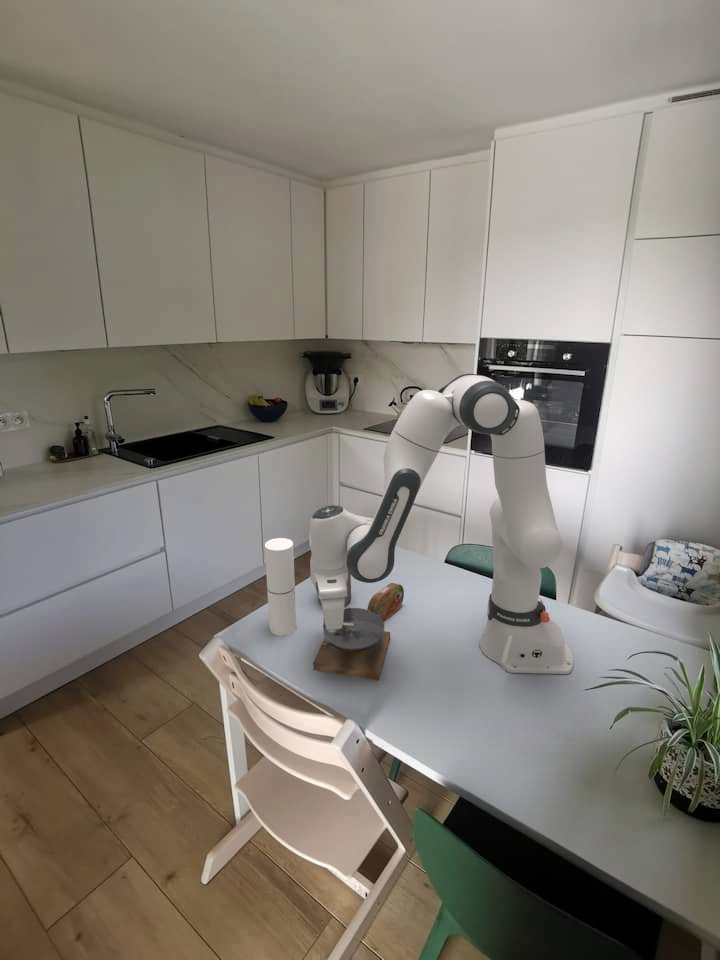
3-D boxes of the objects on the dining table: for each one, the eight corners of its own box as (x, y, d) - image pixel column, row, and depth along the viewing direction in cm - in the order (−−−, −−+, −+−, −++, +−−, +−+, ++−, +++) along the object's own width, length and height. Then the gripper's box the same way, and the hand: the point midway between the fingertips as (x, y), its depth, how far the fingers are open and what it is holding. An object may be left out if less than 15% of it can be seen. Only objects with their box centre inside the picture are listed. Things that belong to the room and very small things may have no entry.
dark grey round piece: (385, 616, 129) (386, 596, 127) (382, 654, 115) (382, 632, 113) (328, 612, 130) (328, 592, 128) (318, 649, 116) (317, 627, 114)
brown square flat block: (390, 638, 130) (390, 619, 128) (379, 680, 116) (379, 659, 114) (331, 629, 134) (331, 610, 132) (313, 669, 119) (312, 648, 117)
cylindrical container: (264, 631, 133) (259, 547, 124) (278, 617, 139) (274, 536, 131) (287, 638, 130) (284, 552, 122) (301, 623, 136) (298, 540, 128)
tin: (374, 630, 134) (374, 603, 131) (364, 626, 135) (365, 599, 133) (404, 605, 145) (405, 580, 142) (395, 602, 147) (396, 577, 144)
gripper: (312, 553, 126) (314, 600, 130) (319, 597, 107) (321, 650, 111) (337, 551, 127) (338, 598, 131) (348, 594, 108) (348, 647, 112)
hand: (330, 622), depth 121 cm, fingers open, 5 cm apart
